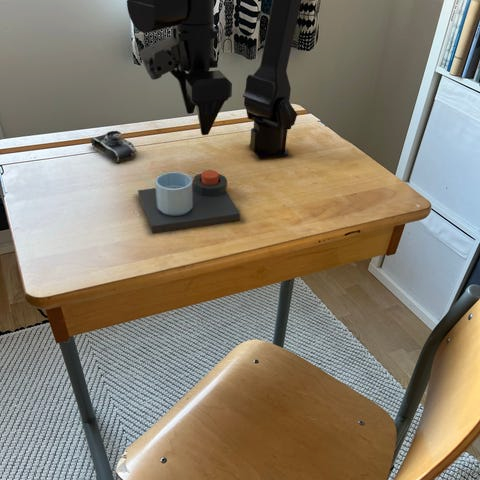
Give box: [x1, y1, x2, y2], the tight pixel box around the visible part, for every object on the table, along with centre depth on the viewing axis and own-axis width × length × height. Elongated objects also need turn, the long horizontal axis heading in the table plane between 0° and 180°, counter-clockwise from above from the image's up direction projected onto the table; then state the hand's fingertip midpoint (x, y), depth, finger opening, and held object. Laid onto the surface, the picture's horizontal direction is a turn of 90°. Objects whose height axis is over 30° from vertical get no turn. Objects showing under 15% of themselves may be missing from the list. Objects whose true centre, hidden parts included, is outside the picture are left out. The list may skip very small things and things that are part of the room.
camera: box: [90, 130, 138, 163], centre depth 102 cm, size 5×10×4 cm, turn 41°
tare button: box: [201, 169, 220, 185], centre depth 90 cm, size 3×3×2 cm
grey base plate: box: [137, 172, 241, 234], centre depth 88 cm, size 16×12×3 cm
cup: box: [154, 171, 193, 216], centre depth 85 cm, size 6×6×5 cm
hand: (197, 123), depth 87 cm, fingers open, 9 cm apart
